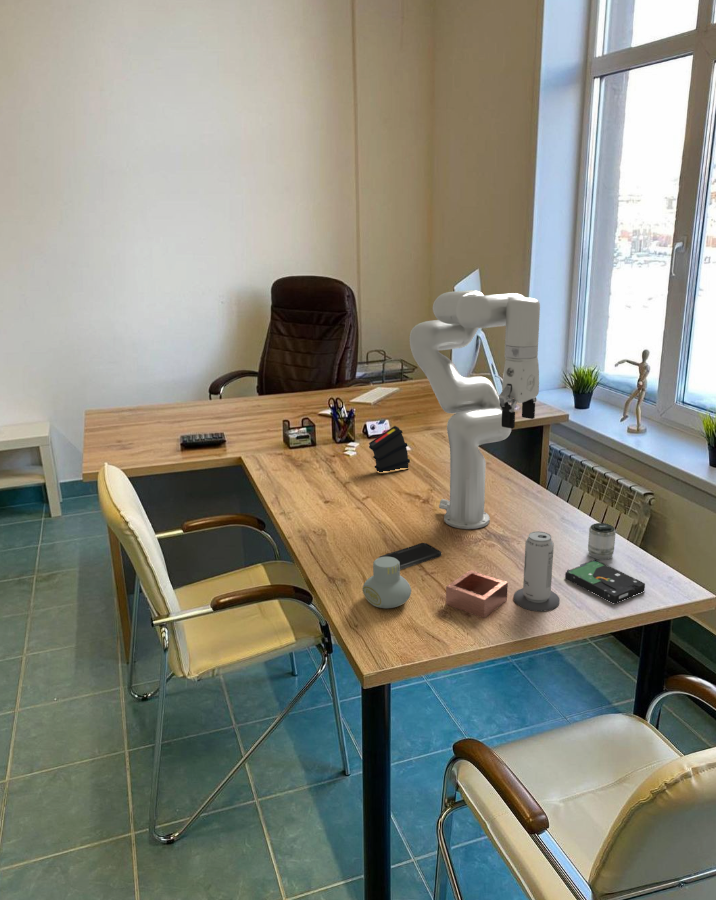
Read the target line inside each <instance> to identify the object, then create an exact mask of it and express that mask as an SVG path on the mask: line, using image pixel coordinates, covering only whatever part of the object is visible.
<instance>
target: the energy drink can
mask: <svg viewBox="0 0 716 900" xmlns="http://www.w3.org/2000/svg"><path fill="white" fill-rule="evenodd" d="M554 546H555V544H554V542H553V539H552V535H551V533H548V532H545V531H540V530H539V531H532V532H530V533H529V534H528V537H527V538H526V539H525V546H524V547H525V548H524V565H523V566H524V568H523V585H522V588H523V594H524V595H525V597H526V599H527V600H529V601H531V602H535V603H542V602H545V601H547V599H548V598H549V597H550V595H551V591H552V578H553V577H552V576H553V561H554V548H555V547H554Z"/></svg>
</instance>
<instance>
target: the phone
mask: <svg viewBox="0 0 716 900" xmlns="http://www.w3.org/2000/svg"><path fill="white" fill-rule="evenodd" d="M441 556H442V551H441V550H439V549H437V548H436V547H434V546H432V545H430V544H429V543H426V542H421V543H418V544H415V545H414V544H413V545H411V546H408V547H405V548H401V549H399V550H396V551H392V552H389V553H385V554H383V555H380V556H378V558H380V557H393V558H396V559H397V560H398V561H399V562H400V571H402V570H405V569H407V568H410V567H413V566H416V565H419V564H422V563H425V562H427V561H428V562H429V561H433V560H434V559H436V558H437V559H438V558H441Z"/></svg>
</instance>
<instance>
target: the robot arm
mask: <svg viewBox="0 0 716 900" xmlns="http://www.w3.org/2000/svg"><path fill="white" fill-rule="evenodd" d="M432 312H433V314H434V316H435V318H436V319H435V320H434V319H433V320H426V321H423V322H420V323H417V324H416V325H414V327H413V328H412V329H411V330H410V334H409V348H410V350H411V354H412V357H413V359H414V361H415V363H416V364H417V365H418V367H419V368H420V369H421V370H422V372H423V373H424V375H425V377H426V378H427V380H428V382H429V384H430V387H431V389H432V391H433V394H435V397H436V399H437V401H438V403H439V405H440V407H441V409H442V410H443V411H444V413H446V414H453V415H451V416H450V418H449V419H448V420H447V423H446V431H447V432H446V433H447V437H448V443H449V454H450V455H449V457H450V458H449V460H450V463H449V464H450V465H449V466H450V467H449V468H450V469H449V471H450V474H449V476H450V477H449V482H450V483H449V500H448V499H444V498H441V499H440V501H439V504H438V508H439V509H440V510H444V511H446V513H444V515H443V521H444V523H446V524H447V525H448V526H450V527H453V528H456V529H462V530H476V529H481V528H484V527H486V526H487V525H488V524H490V519H491V517H490V515H489V514H488V513H487V512H485V499H486V498H485V497H486V495H485V493H486V491H485V490H486V458H485V456H484V454H483V453H482V452H481V450H480V449H479V446H481V445H485V444H490V443H496V442H501V441H503V440H506V439H507V438H508V437H509V436H510V434H511V432H512V429H514V428H515V425H516V424H515V423H516V411H515V408H516V406H517V403H518V404H521V405H522V406H521V417H522V418H524V419H530V420H534V419H535V415H536V402H537V397H538V396H539V393H540V369H539V356H538V355H539V336H540V335H539V334H540V333H539V331H540V317H541V316H540V315H541V314H540V313H541V304H540V301H539V300H538V299H536V298H533V297H526V296H524V295H523V294H520V293H517V292H515V293H514V292H511V293H510V292H509V293H499V294H496V293H495V294H487V295H486V294H485V295H484V294H483V292H481V291H479V290H475V289H470V290H458V291H447V292H444V293H441V294H440V295H438V296H437V297H436V299H435V300H434V301H433V305H432ZM496 327H505V336H504V337H505V338H504V339H505V340H504V341H505V342H504V359H505V361H504V366H503V367H504V369H503V374H502V375H503V376H502V386H501V387H502V388H501V389H502V391H501V392H500V394H499V393H498V391H497V389H496V387H495V385H494V384H493V382H492V381H491V380H490V379H489V378H487V377H484V376H480V375H476V376H462V375H461V373H460V372H459V371H458V368H457V366H456V364H455V363H454V362H453V360H451V359H450V358H449V357H448V356H446V355H444V354H442V353H441V352H440V351H447V350H454V349H462V348H465V347H467V346H468V345H470V343H471V342H472V341H473V340H474V338H475V336H476V334H477V332H478V331H479V329H488V328H496ZM510 403H511V404H510Z"/></svg>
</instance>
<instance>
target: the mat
mask: <svg viewBox="0 0 716 900" xmlns="http://www.w3.org/2000/svg"><path fill="white" fill-rule="evenodd" d="M560 601H561V600H560V596H559V595H558V594H557V593H555V591H552V590H551V595H550V597H549V598H548V599H547V601H545V602H542V603H535V602H531V601H529V600H527V599H526V597H525V595H524V594H523V587H522V588H519V589H518V590H516V591H515V592H514V594H513V602H514V604H516V605H517V606H518V607H521V608H522V609H524V610H528V611H531V612H549V611H552V610H555V609H556V608H558V606H559V605H560Z"/></svg>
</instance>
